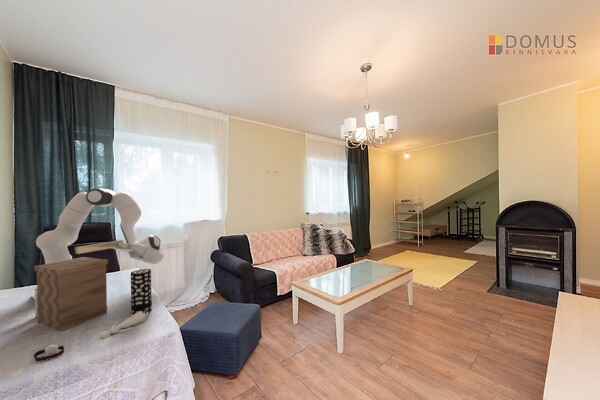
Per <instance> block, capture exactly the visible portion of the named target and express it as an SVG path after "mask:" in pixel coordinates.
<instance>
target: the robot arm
mask: <svg viewBox="0 0 600 400" xmlns="http://www.w3.org/2000/svg"><path fill="white" fill-rule="evenodd" d="M94 207H104V208H105V207H114V208H115V210H116V211H117V212H118V215H119V217H120V230H121V232H122V235H123V237H124V240H125V243H121V242H118V243H117V245H118V246H120V247H115V248H111V250H112V249H113V250H116V251H119V252H121V253H127V254H128V255H129V257H130V258H131V259H134V260H137V261H142V262H144V263H147V264H151V265H157V264H159V263H160V262H161V261H162V260H163V258H164V255H165V254H164V253H163V251H162V250H161V240H160V238H159V237H158V236H156V235H154V234H149V235H148V236H146V237H143V238H142V239H141V240H139V241H138V239H137V236H136V234H135V232H134V228H135V225H136V224H137V223H138V221H139V220H140V218H141V216H142V210H141V208H140V206H139V205H138V203H137V201H136V200H135V198H134V197H133V196H132V195H131V194H130V193H129V192H127V191H126V192H125V191H122V192H117V191H115V190H111V189H108V188H100V187H95V188H92V189H90V190H89V191H87V192H85V191H81V192H78V193H77V194H76V195H75V196H73V198H72V199H71V200H69V201H68V203H67V204H66V206H65V208H64V209H63V210H62V212H61V214H60V215H59V216H58V223H57V226H56V228H55V229H54V230H48V231H45V232H44V233H42V234H40V235H39V236H38V237H36V239H35V244H36V247H37V248H38V249H40V250H41V252H42V253H41V254H42V256H43V258H44V259H43V260H44V263H45V264H49V263H55V262H60V261H65V260H71V259H73V256H72V255H71V254H70V251H69V249H68V246H70V245H72V244H73V243H75V242H76V241H77V240H78V237H79V233H80V230H81V227H82V225H83V224H84V222H85V221H86V219H87V217H88V216H89V215H90V213H91V211H92V209H94ZM35 292H37V287H35V288H34V293H33V294H31V296H30V297H31V298H32V299H33V300H34V301H35Z"/></svg>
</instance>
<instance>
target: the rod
mask: <svg viewBox="0 0 600 400" xmlns="http://www.w3.org/2000/svg"><path fill="white" fill-rule="evenodd" d="M118 242H121V243H124V240H123V239H122V240H114V241H106V242H100V243H94V244H88V245H81V246H75V247H74V255H75V254H77V255H80V254H86V253H91V252H96V251H97V252H99V251H104V250H108V249H112V248H115V247H120V246H118V245H117V243H118Z"/></svg>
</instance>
